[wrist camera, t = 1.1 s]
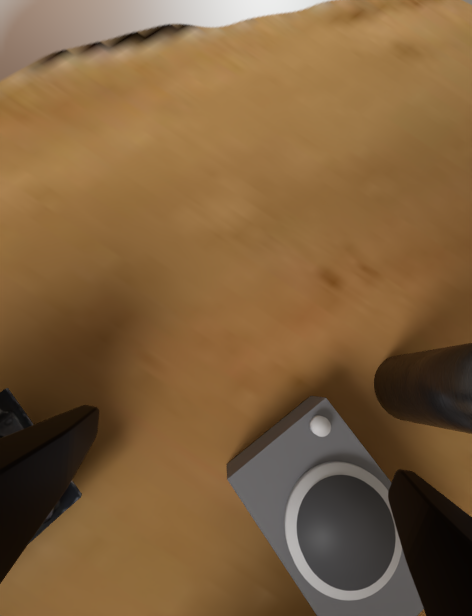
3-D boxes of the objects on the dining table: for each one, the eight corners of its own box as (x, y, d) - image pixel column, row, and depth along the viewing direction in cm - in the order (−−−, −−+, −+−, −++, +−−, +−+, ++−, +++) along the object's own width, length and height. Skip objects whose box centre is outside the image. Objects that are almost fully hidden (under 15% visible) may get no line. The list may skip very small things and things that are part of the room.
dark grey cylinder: (451, 394, 23) (690, 404, 11) (405, 437, 22) (612, 495, 10) (405, 341, 24) (581, 299, 12) (359, 380, 23) (502, 374, 11)
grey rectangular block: (420, 540, 21) (471, 580, 16) (334, 627, 19) (366, 696, 15) (310, 395, 23) (330, 398, 19) (226, 464, 21) (227, 484, 17)
